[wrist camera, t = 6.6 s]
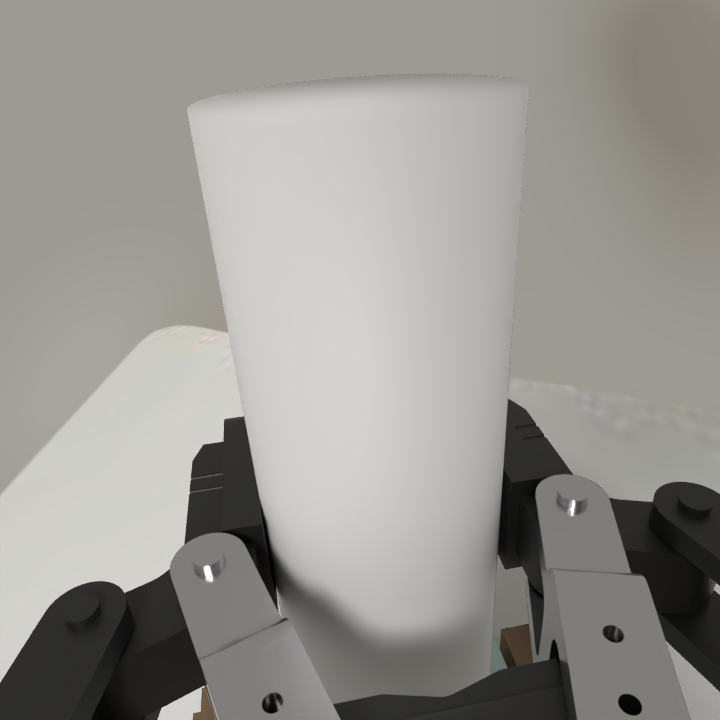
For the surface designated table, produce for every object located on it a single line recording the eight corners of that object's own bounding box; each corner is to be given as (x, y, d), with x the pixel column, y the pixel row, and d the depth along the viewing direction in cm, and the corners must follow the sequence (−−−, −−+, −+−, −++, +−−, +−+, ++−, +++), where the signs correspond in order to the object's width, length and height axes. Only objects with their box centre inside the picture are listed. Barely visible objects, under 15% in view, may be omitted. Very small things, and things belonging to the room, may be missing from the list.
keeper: (486, 649, 21) (522, 53, 12) (603, 948, 15) (883, 103, 5) (253, 695, 21) (104, 88, 11) (261, 1040, 14) (-98, 203, 4)
